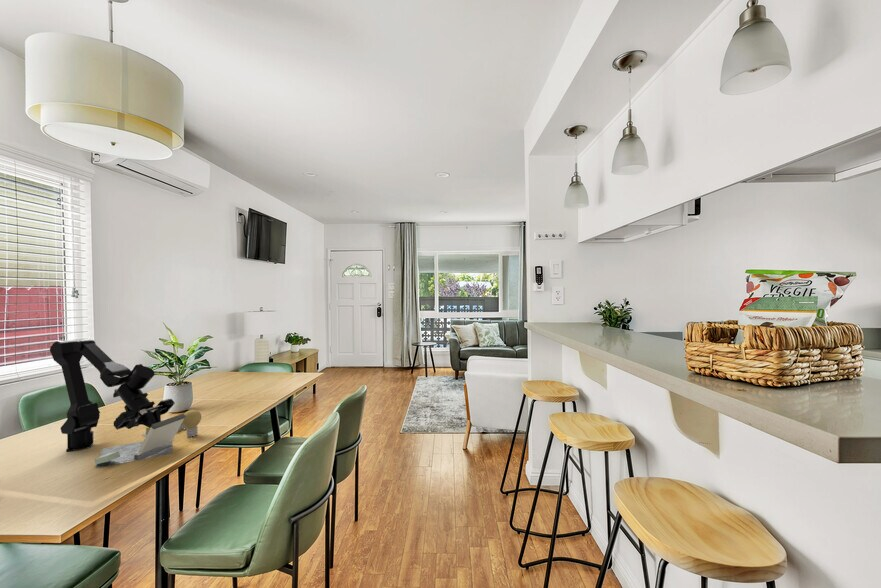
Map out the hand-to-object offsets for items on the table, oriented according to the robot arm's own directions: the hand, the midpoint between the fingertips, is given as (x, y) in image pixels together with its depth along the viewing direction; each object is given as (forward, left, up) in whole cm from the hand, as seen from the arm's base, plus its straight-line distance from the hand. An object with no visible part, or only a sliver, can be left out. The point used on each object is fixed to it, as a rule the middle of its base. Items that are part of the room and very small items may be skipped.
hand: (160, 431), depth 138 cm
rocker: (-14, -1, -7) cm, 15 cm away
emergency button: (+3, +29, -9) cm, 30 cm away
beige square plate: (-1, +1, -5) cm, 5 cm away
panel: (-7, +6, -8) cm, 12 cm away
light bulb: (+10, +15, -8) cm, 20 cm away
